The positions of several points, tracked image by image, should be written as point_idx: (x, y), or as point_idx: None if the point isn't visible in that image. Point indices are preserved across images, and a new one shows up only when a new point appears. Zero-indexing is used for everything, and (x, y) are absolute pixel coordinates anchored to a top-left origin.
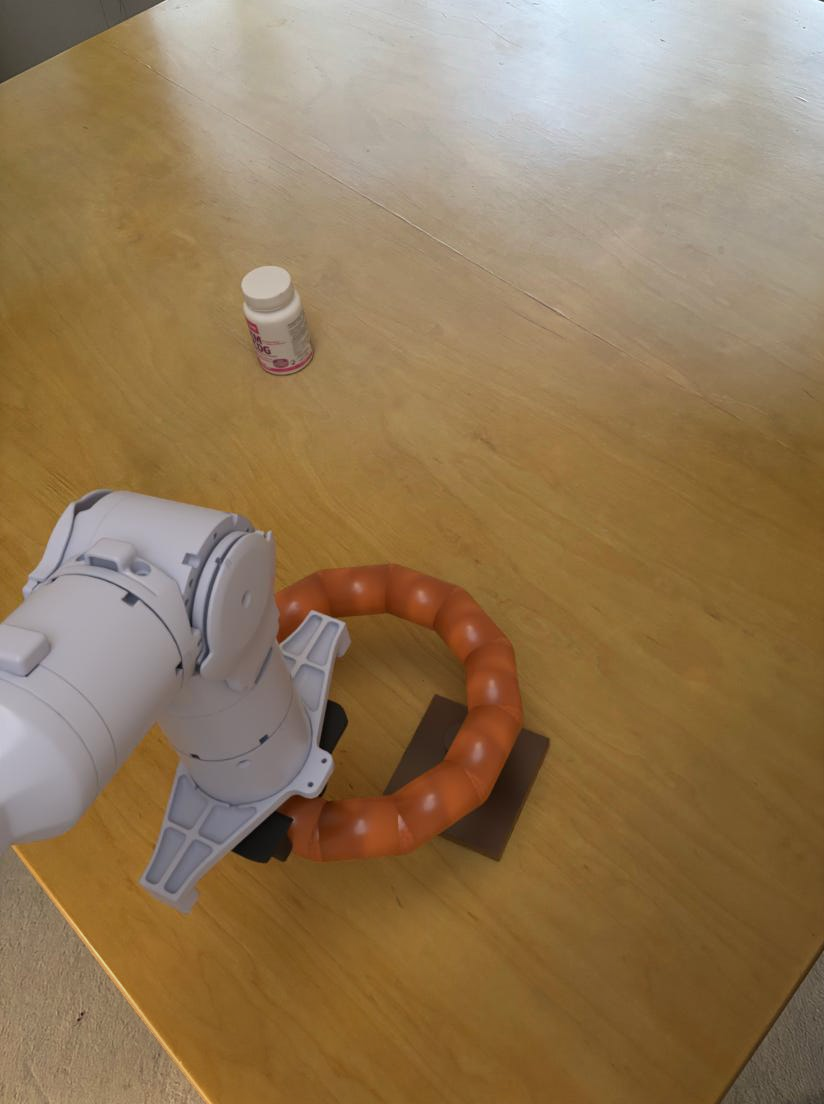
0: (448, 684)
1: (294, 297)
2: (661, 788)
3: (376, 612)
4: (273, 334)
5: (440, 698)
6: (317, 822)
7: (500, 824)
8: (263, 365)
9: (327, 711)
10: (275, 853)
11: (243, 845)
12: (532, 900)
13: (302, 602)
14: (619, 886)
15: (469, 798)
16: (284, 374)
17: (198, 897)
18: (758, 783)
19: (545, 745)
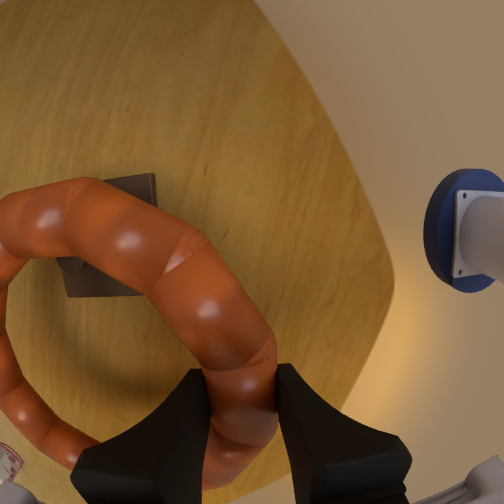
0: (60, 290)
1: None
2: (55, 97)
3: (27, 390)
4: (2, 472)
5: (68, 291)
6: (239, 368)
7: (125, 186)
8: (20, 464)
9: (95, 495)
10: (328, 405)
11: (392, 482)
12: (170, 132)
13: (62, 456)
14: (131, 80)
15: (96, 191)
16: (15, 453)
17: (479, 465)
18: (37, 50)
19: None
